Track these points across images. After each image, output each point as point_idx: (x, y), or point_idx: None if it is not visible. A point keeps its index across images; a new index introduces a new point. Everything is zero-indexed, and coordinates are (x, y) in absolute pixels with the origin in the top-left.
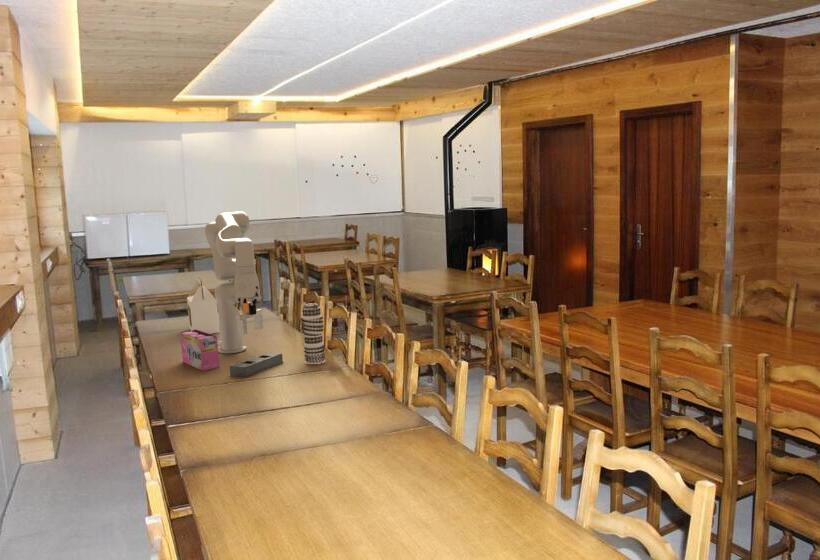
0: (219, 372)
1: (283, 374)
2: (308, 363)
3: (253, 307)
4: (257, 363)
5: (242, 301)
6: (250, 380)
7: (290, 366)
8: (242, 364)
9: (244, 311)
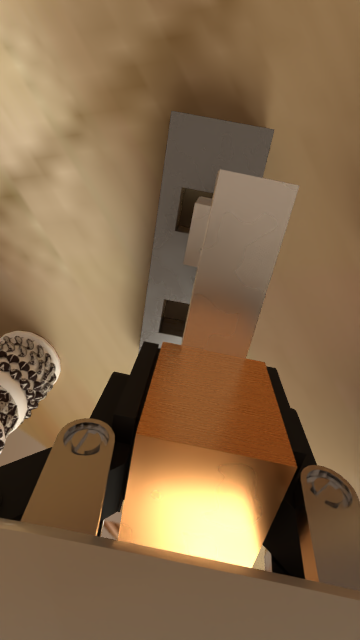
0: (347, 188)
1: (37, 189)
2: (29, 335)
3: (93, 414)
4: (158, 213)
5: (315, 527)
6: (124, 64)
7: (82, 306)
8: (217, 171)
9: (240, 367)
